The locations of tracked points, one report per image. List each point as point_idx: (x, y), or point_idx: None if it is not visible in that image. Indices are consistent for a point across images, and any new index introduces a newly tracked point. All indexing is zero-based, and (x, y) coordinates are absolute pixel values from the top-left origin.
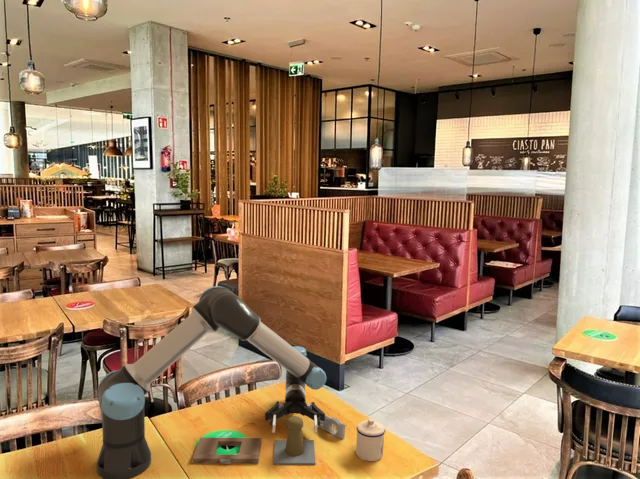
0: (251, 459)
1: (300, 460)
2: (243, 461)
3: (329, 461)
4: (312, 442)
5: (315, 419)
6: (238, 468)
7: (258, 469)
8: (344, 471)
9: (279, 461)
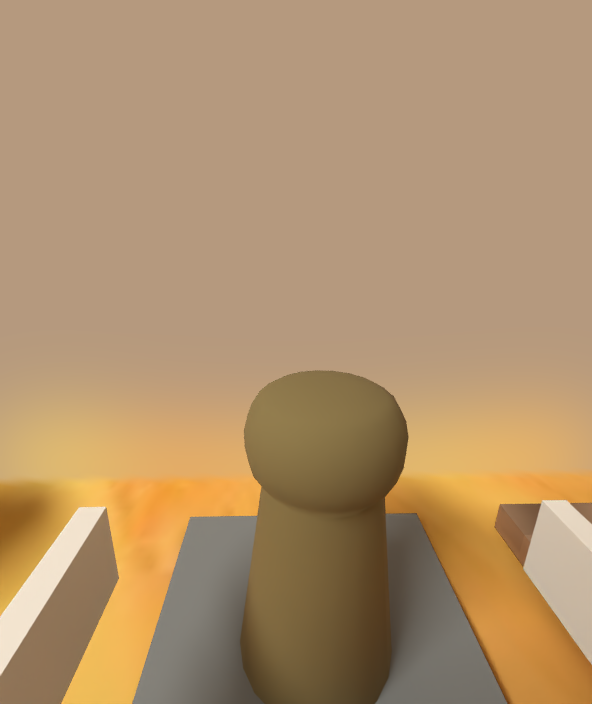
0: (535, 506)
1: None
2: None
3: None
4: None
5: (10, 635)
6: (560, 496)
7: (465, 493)
8: (66, 489)
9: (386, 524)
